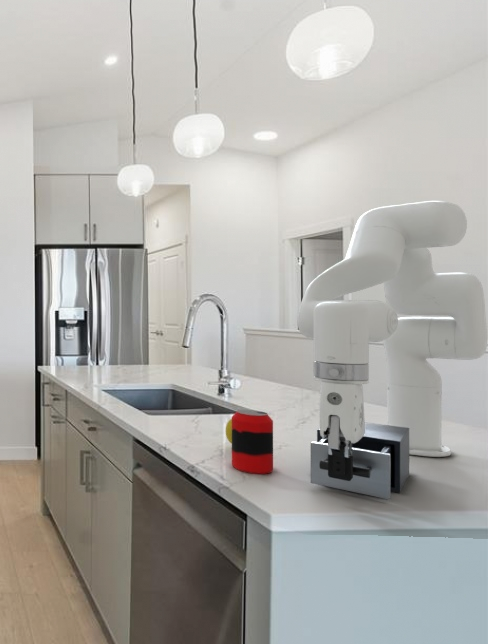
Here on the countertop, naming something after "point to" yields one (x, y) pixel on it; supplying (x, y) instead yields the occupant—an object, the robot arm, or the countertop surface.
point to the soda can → (252, 441)
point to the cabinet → (401, 448)
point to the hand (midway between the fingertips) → (340, 477)
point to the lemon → (229, 431)
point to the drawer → (357, 468)
